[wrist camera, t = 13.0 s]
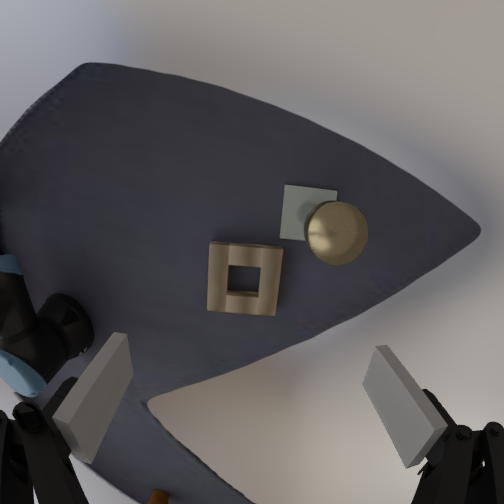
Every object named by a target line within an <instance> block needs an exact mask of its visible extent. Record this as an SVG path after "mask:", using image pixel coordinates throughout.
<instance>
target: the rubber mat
mask: <svg viewBox="0 0 504 504" xmlns="http://www.w3.org/2000/svg"><path fill="white" fill-rule="evenodd" d="M336 199H337V191H333V190H325V189H317V188H309V187H301V186H292V185H285V189H284V199H283V209H282V219H281V229H280V238H283V239H294V240H305V237H304V226H303V225H302V224H301V223H300V222H299V220H298V217H297V212H298V209H299V208H300V206H301V205H303V204H305V203H313V204H316V205H318V204H320V203H322V202H324V201H329V200H336ZM305 241H306V240H305Z"/></svg>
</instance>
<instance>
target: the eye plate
mask: <svg viewBox="0 0 504 504" xmlns="http://www.w3.org/2000/svg"><path fill="white" fill-rule="evenodd" d="M282 256H283V248H282V246H271V245H259V244H247V243H235V242H222V241H211V243H210V246H209V269H208V299H207V310H209V311H220V312H231V313H243V314H256V315H271V316H275V313H276V305H277V297H278V289H279V281H280V273H281V264H282ZM229 265H239V266H251V267H261V268H260V279H259V289H258V292H249V291H236V290H228V275H229Z"/></svg>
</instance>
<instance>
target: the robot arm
mask: <svg viewBox="0 0 504 504" xmlns="http://www.w3.org/2000/svg"><path fill="white" fill-rule="evenodd" d="M23 277H24V274H23V273H22V271H21V268H20V265H19V262H18V259H17V258H16V257H15V256H14V255H11V254H8V255H2V256H0V376H1V378H3V380H4V381H5V382H6V383H7V384H8V385H9V386H10V387H11V388H13V389H14V390H15V391H17V392H18V393H20V394H22V395H24V396H27V397H35V396H37V395H38V394H39V393H40V392H41V391H42V390H43V389H44V388H46V387H47V384H48V383H49V382H50V381H51V379H52V378H53V377H54V376H55V375H56V373H57V372H58V371H59V370H60V369H61V368H62V366H63V365H64V364H65V363H66V362H67V361H68V360H70V359H73V358H75V357H77V356H80V355H82V354H84V353H85V352H86V351H87V350H88V349H89V348H90V346H91V345H92V342H93V337H94V335H93V328H92V325H91V322H90V320H89V318H88V316H87V314H86V313H85V311H84V310H83V308H82V307H81V306H80V305H79V304H78V303H77V302H76V301H74V300H73V299H72V298H70V297H68V296H66V295H63V294H54V295H52V296H50V297H49V298H47V299H46V300H45V301H44V302H43V303H42V305H41V308H40V310H39V311H38V313H37V314H36V313H35V310H34V307H33V305H32V302H31V299H30V296H29V293H28V290H27V287H26V284H25V281H24V278H23ZM133 376H134V373H133V368H132V362H131V357H130V351H129V345H128V338H127V334H123V333H117V332H114V333H113V334H112V335H111V337H110V338H109V339H108V340H107V342H106V343H105V344H104V346H103V347H102V348H101V350H100V351H99V352H98V354H97V355H96V356H95V358H94V359H93V360H92V362H91V363H90V364H89V366H88V367H87V368H86V370H85V371H84V372H83V374H82V375H81V376H80V378H75V377H70V378H69V379H67V380H65V381H64V382H63V383H62V384H61V386H60V387H59V388H58V390H57V391H56V392H55V394H54V396H52V398H51V399H50V400H49V402H48V403H47V405H46V406H45V407H44V409H43V410H42V411H41V410H40V408H39V406H38V405H37V404H36V403H35V402H32V401H23V402H20V403H19V404H17V405H16V406H15V407H14V409H13V413H12V415H13V416H14V418H15V420H11V419H9V418H8V417H7V415H6V414H5V412H3V411H2V410H0V504H34V494H33V487H34V490H35V493H36V496H37V499H38V502H39V504H89V503H88V501H87V498H86V497H85V495H84V492H83V490H82V488H81V485H80V483H79V481H78V479H77V476H76V473H75V471H74V469H73V466H72V463H71V461H70V459H69V455H70V453H71V452H72V453H73V455H74V456H75V458H76V459H78V460H81V461H84V462H86V463H89V464H92V462H93V459H94V457H95V455H96V453H97V450H98V448H99V446H100V444H101V442H102V439H103V437H104V435H105V433H106V431H107V429H108V426H109V424H110V422H111V420H112V418H113V416H114V414H115V412H116V410H117V408H118V406H119V404H120V402H121V399H122V397H123V395H124V393H125V391H126V389H127V387H128V385H129V383H130V381H131V379H132V378H133ZM363 386H364V388H365V390H366V392H367V394H368V395H369V397H370V399H371V401H372V403H373V405H374V407H375V409H376V411H377V413H378V414H379V416H380V418H381V420H382V422H383V424H384V426H385V428H386V430H387V432H388V434H389V436H390V438H391V439H392V441H393V444H394V446H395V448H396V450H397V451H398V453H399V456H400V458H401V459H402V461H403V464H404V466H405V468H409V467H412V466H415V465H418V464H420V462H421V461H422V460H423V459H424V457H426V458H427V460H428V462H427V463H426V464H425V465H424V466H423V468H422V469H421V470H420V471H419V472H418V475H419V474H420V473H421V472H422V471H423V473H422V476H421V479H420V482H419V485H418V488H417V490H416V493H415V495H414V498H413V501H412V503H411V504H504V428H503V426H501V424H499V423H497V422H489V423H488V424H487V425H486V426H485V428H484V429H483V430H480V431H472V430H471V429H470V428H469V427H467V426H465V425H457V424H456V423H455V422H454V421H453V419H452V418H451V417H450V415H449V414H448V413H447V411H446V410H445V409H444V407H442V405H441V403H440V402H438V400H437V398H436V397H435V396H434V394H433V393H431V392H429V391H428V390H427V389H421V388H420V387H419V385H418V384H417V383H416V381H415V380H414V379H413V378H412V376H411V375H410V374H409V372H408V371H407V370H406V368H405V367H404V366H403V365H402V364H401V362H400V361H399V360H398V358H397V357H396V356H395V354H394V353H393V352H392V351H391V349H390V348H389V347H388V346H387V345H384V346H376V347H375V350H374V353H373V356H372V359H371V362H370V365H369V367H368V370H367V373H366V376H365V379H364V382H363ZM483 461H484V462H485V466H484V467H483V464H482V462H483Z"/></svg>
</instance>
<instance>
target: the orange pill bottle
mask: <svg viewBox="0 0 504 504" xmlns="http://www.w3.org/2000/svg"><path fill="white" fill-rule="evenodd" d="M168 496H169V495H168V494H167V493H166V492H164V491H161V490H153V493H152V495H151V497H150V499H149V501H148V504H168Z"/></svg>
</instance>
